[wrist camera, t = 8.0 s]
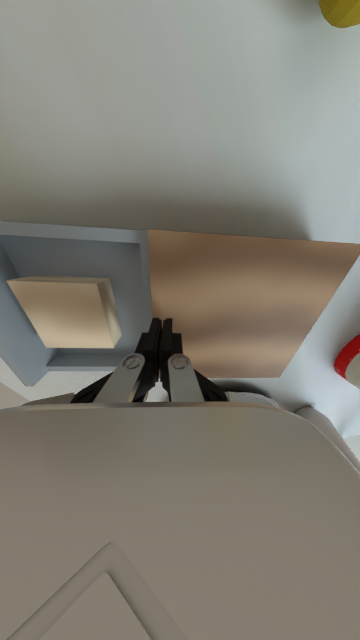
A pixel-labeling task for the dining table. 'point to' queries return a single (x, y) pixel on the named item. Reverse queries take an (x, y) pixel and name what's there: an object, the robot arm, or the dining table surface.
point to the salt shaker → (328, 432)
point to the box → (75, 261)
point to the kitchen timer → (350, 362)
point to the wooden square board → (243, 296)
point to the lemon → (341, 12)
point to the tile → (69, 310)
